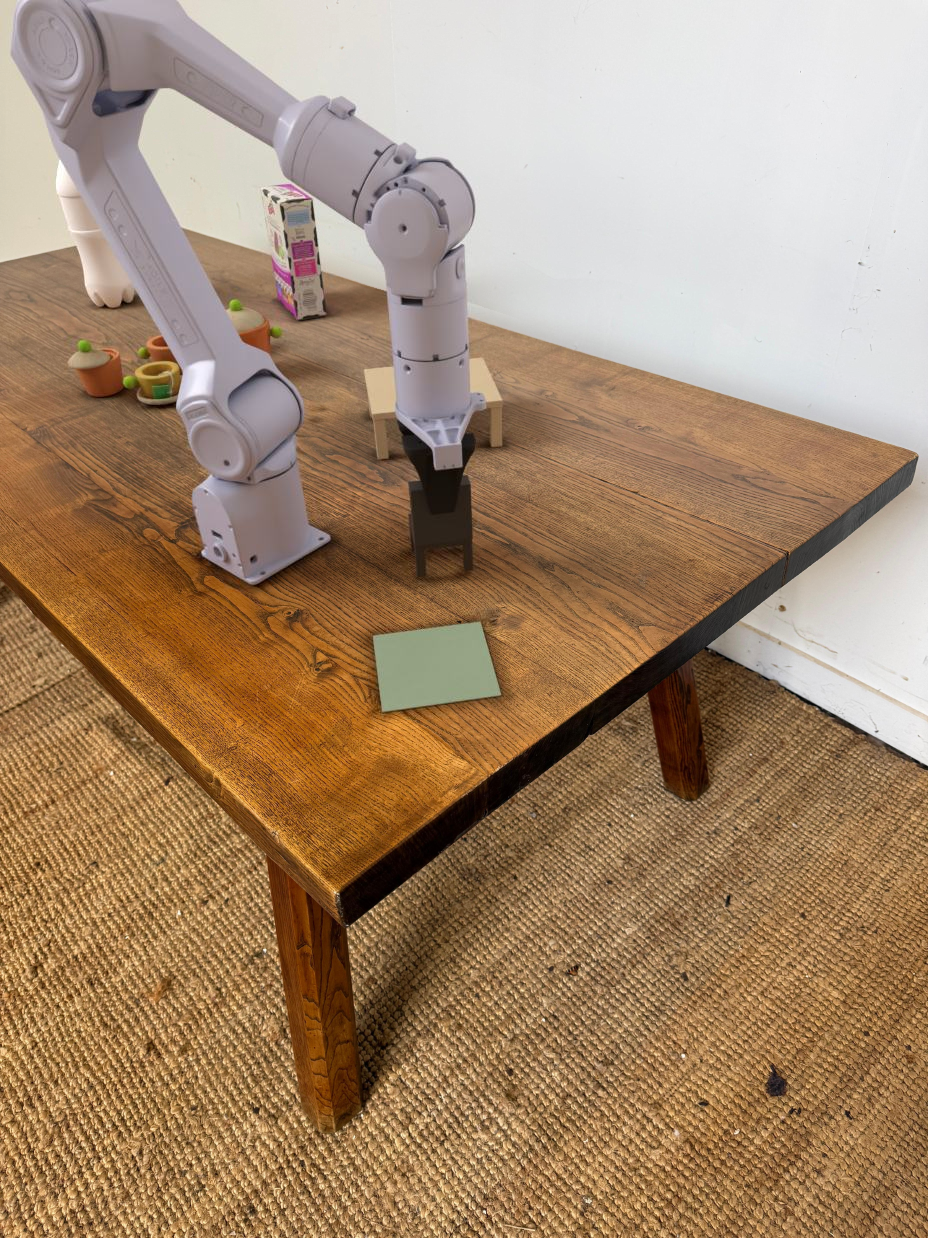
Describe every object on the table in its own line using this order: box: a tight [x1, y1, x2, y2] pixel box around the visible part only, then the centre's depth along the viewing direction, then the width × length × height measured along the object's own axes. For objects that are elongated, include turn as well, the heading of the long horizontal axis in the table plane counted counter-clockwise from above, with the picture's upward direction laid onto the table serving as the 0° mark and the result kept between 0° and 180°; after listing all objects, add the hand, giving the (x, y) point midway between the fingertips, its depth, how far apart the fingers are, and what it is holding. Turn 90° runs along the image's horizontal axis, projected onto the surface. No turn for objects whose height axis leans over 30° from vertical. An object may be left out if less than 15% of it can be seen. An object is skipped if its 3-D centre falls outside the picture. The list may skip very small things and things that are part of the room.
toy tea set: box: [67, 299, 283, 406], centre depth 112 cm, size 26×16×10 cm, turn 126°
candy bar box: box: [260, 183, 328, 321], centre depth 130 cm, size 11×5×16 cm, turn 25°
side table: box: [363, 357, 504, 460], centre depth 99 cm, size 12×14×6 cm
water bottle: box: [55, 159, 135, 309], centre depth 132 cm, size 7×7×25 cm
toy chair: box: [407, 474, 474, 578], centre depth 77 cm, size 5×5×9 cm
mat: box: [372, 621, 502, 714], centre depth 69 cm, size 9×9×1 cm
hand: (440, 504), depth 74 cm, fingers closed on toy chair
